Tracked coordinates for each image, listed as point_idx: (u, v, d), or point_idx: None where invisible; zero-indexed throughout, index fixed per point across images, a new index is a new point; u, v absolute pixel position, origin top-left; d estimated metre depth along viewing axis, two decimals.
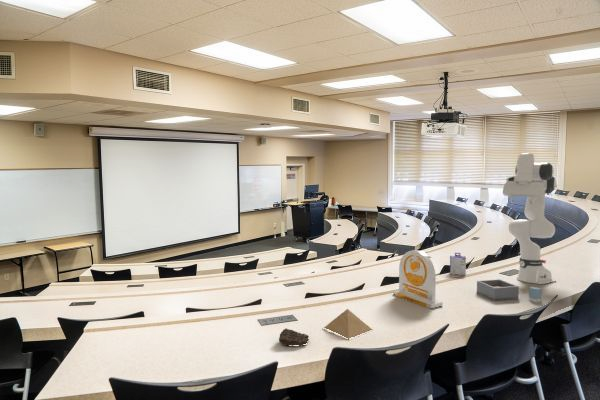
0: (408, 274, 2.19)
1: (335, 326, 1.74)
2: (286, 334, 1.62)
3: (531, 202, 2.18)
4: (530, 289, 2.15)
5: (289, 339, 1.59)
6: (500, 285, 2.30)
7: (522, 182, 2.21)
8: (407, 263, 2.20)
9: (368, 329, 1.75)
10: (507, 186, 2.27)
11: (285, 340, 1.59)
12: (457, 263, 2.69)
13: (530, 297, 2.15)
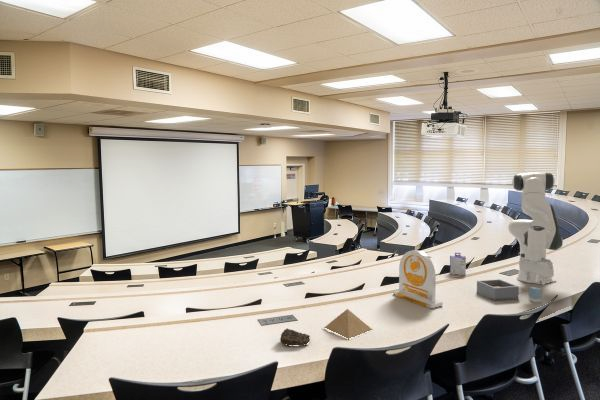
0: (408, 274, 2.19)
1: (335, 326, 1.74)
2: (287, 334, 1.62)
3: (541, 283, 2.09)
4: (530, 289, 2.15)
5: (290, 339, 1.59)
6: (500, 285, 2.30)
7: (531, 261, 2.12)
8: (407, 263, 2.20)
9: (368, 329, 1.75)
10: (522, 261, 2.20)
11: (286, 340, 1.59)
12: (457, 263, 2.69)
13: (530, 297, 2.15)
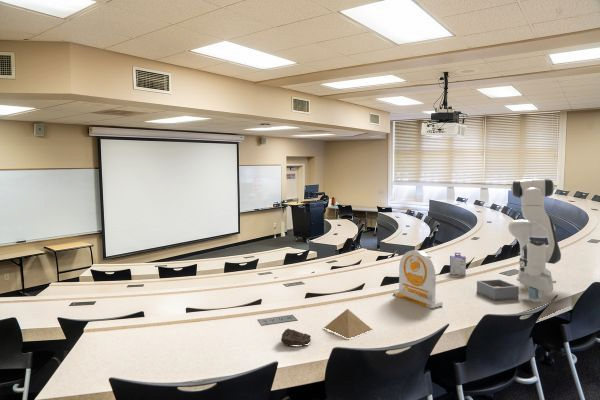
0: (408, 274, 2.19)
1: (335, 326, 1.74)
2: (288, 334, 1.62)
3: (537, 296, 2.11)
4: (530, 289, 2.15)
5: (291, 339, 1.59)
6: (500, 285, 2.30)
7: (531, 275, 2.13)
8: (407, 263, 2.20)
9: (368, 329, 1.75)
10: (522, 275, 2.21)
11: (287, 340, 1.59)
12: (457, 263, 2.69)
13: (530, 297, 2.15)
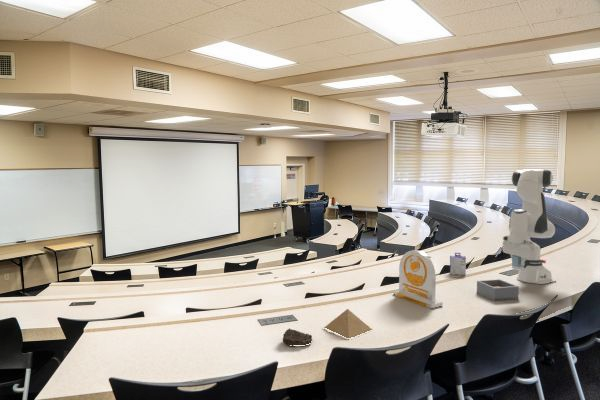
0: (408, 274, 2.19)
1: (335, 326, 1.74)
2: (290, 334, 1.62)
3: (520, 264, 2.14)
4: (513, 257, 2.18)
5: (293, 339, 1.59)
6: (500, 285, 2.30)
7: (514, 244, 2.16)
8: (407, 263, 2.20)
9: (368, 329, 1.75)
10: (505, 244, 2.24)
11: (289, 340, 1.59)
12: (457, 263, 2.69)
13: (513, 265, 2.18)
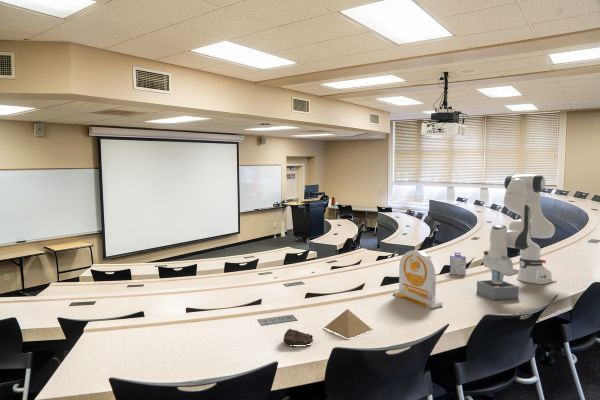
0: (408, 274, 2.19)
1: (335, 326, 1.74)
2: (290, 334, 1.62)
3: (499, 278, 2.20)
4: (493, 272, 2.23)
5: (294, 339, 1.59)
6: (500, 285, 2.30)
7: (493, 259, 2.21)
8: (407, 263, 2.20)
9: (368, 329, 1.75)
10: (486, 259, 2.29)
11: (290, 340, 1.59)
12: (457, 263, 2.69)
13: (493, 279, 2.23)
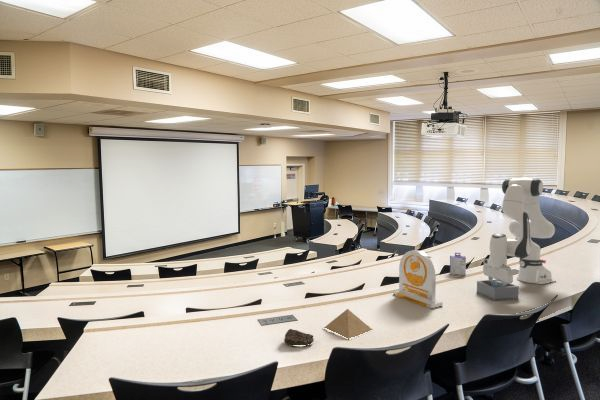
0: (408, 274, 2.19)
1: (335, 326, 1.74)
2: (291, 334, 1.61)
3: None
4: (492, 283, 2.24)
5: (295, 339, 1.59)
6: None
7: (493, 267, 2.22)
8: (407, 263, 2.20)
9: (368, 329, 1.75)
10: (485, 267, 2.29)
11: (291, 340, 1.59)
12: (457, 263, 2.69)
13: None
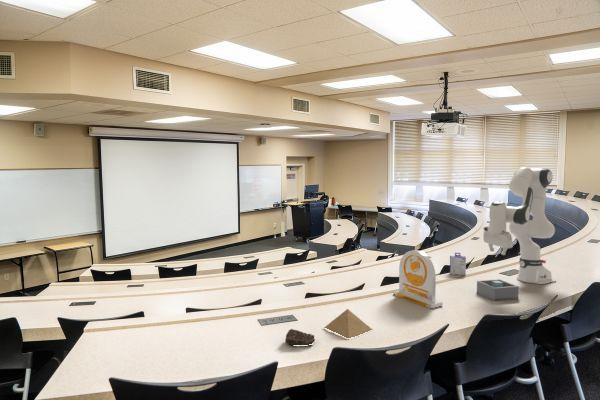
0: (408, 274, 2.19)
1: (335, 326, 1.74)
2: (292, 334, 1.61)
3: (502, 253, 2.26)
4: (492, 283, 2.24)
5: (296, 339, 1.59)
6: None
7: (493, 234, 2.29)
8: (407, 263, 2.20)
9: (368, 329, 1.75)
10: (486, 235, 2.37)
11: (292, 340, 1.59)
12: (457, 263, 2.69)
13: None
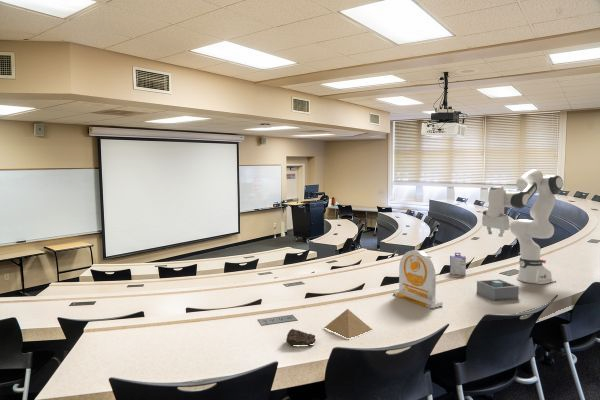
0: (408, 274, 2.19)
1: (335, 326, 1.74)
2: (293, 334, 1.61)
3: (499, 235, 2.36)
4: (492, 283, 2.24)
5: (297, 339, 1.59)
6: None
7: (491, 217, 2.40)
8: (407, 263, 2.20)
9: (368, 329, 1.75)
10: (484, 218, 2.48)
11: (293, 340, 1.59)
12: (457, 263, 2.69)
13: None
